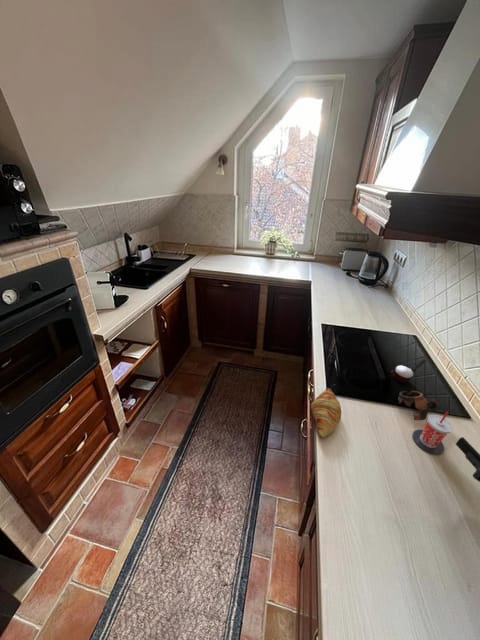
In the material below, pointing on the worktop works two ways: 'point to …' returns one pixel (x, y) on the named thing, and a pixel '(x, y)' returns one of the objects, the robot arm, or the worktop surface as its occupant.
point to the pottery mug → (418, 403)
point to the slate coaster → (435, 451)
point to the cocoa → (405, 372)
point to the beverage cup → (435, 430)
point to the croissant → (326, 412)
